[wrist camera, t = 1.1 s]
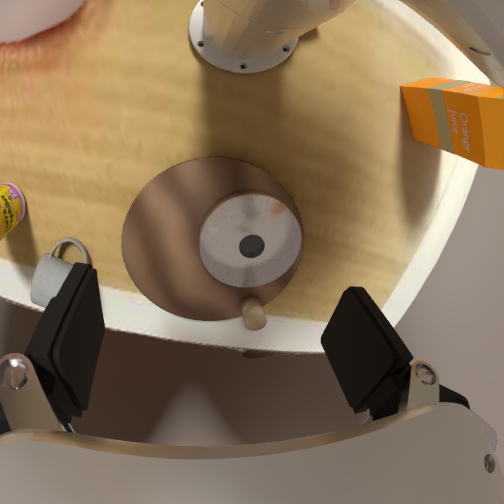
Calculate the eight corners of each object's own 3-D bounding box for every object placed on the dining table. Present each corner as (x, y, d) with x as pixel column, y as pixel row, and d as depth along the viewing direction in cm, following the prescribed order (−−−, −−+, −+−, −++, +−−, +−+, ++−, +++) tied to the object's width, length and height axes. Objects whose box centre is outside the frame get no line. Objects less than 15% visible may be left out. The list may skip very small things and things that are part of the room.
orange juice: (431, 77, 28) (539, 97, 11) (443, 127, 33) (542, 166, 16) (399, 85, 29) (517, 106, 12) (413, 140, 34) (520, 187, 17)
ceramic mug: (88, 299, 38) (75, 332, 32) (46, 280, 35) (28, 311, 28) (100, 246, 34) (83, 277, 28) (53, 225, 31) (29, 252, 25)
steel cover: (269, 170, 31) (276, 177, 28) (306, 246, 37) (315, 259, 34) (180, 221, 32) (178, 233, 29) (229, 287, 38) (232, 302, 36)
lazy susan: (251, 120, 29) (260, 123, 24) (322, 267, 41) (336, 289, 37) (90, 224, 31) (75, 245, 27) (190, 334, 44) (191, 359, 39)
